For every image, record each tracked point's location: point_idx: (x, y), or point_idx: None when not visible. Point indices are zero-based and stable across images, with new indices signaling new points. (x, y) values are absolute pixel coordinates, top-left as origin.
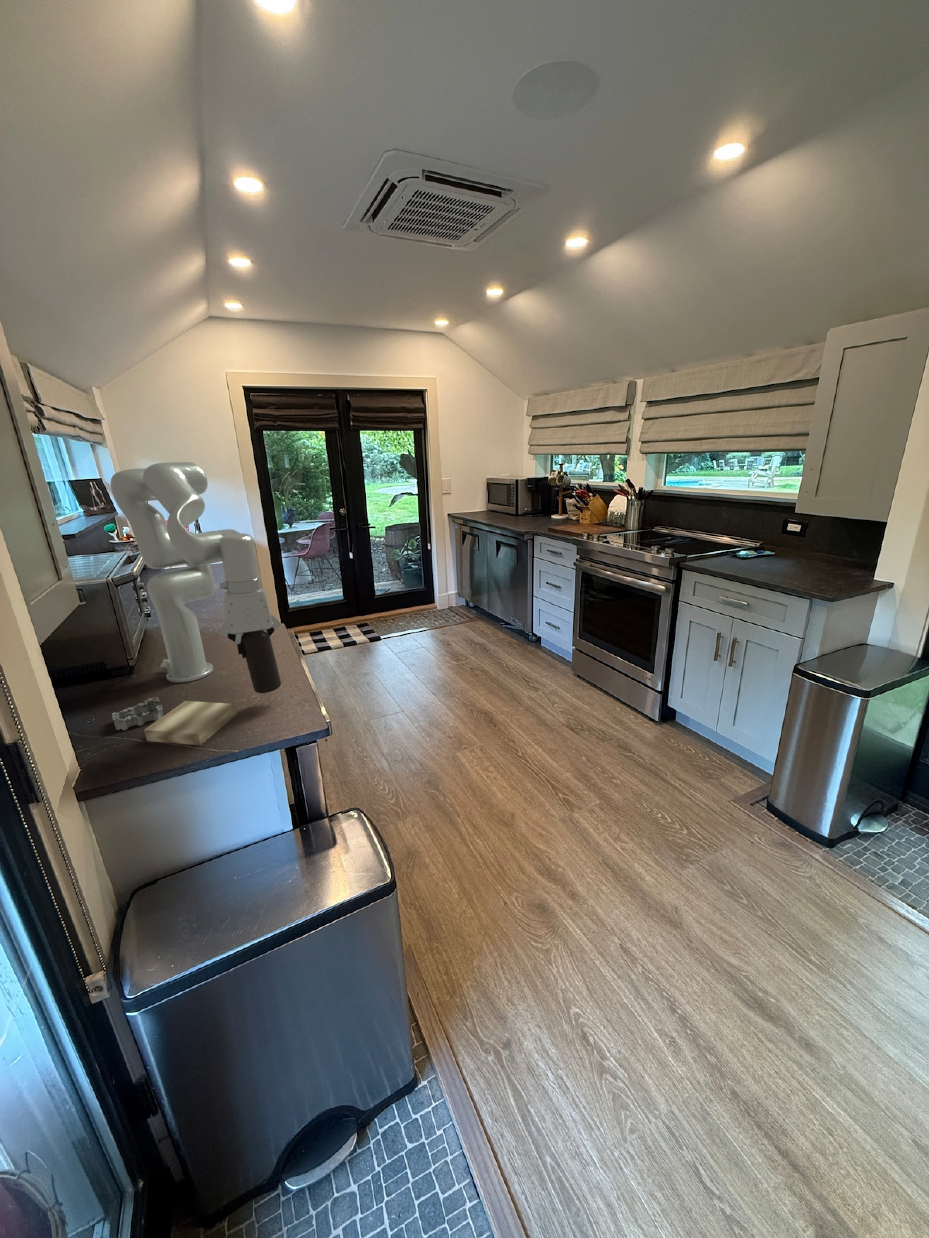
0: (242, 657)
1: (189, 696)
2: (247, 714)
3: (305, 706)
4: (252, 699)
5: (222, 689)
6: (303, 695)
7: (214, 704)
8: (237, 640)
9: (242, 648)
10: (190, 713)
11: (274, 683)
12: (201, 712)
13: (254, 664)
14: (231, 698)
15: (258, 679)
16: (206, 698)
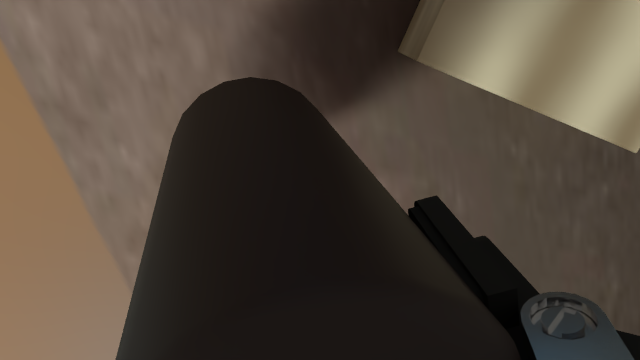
0: (437, 197)
1: (593, 259)
2: (347, 36)
3: (51, 49)
4: None
5: None
6: (99, 176)
7: (513, 81)
8: (578, 338)
9: (465, 253)
10: (618, 6)
11: (190, 113)
12: (569, 3)
13: (312, 137)
14: None
15: (286, 99)
16: (533, 231)
